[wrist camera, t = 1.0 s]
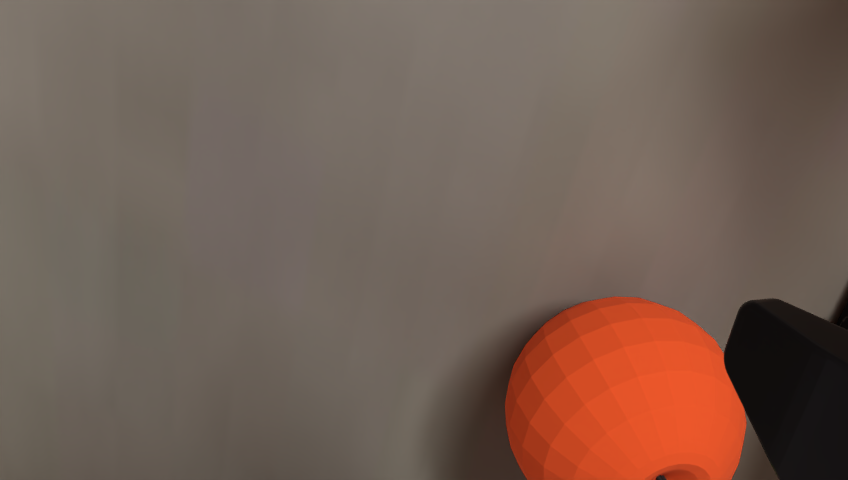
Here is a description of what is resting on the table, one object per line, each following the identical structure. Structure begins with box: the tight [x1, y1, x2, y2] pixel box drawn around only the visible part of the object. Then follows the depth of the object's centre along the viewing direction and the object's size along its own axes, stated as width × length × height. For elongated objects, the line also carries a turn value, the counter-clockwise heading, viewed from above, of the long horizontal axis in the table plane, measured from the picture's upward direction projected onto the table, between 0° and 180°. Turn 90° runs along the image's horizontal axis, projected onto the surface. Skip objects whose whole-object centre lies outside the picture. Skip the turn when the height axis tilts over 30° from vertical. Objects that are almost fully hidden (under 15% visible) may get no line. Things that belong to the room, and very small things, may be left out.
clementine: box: [505, 297, 746, 480], centre depth 24 cm, size 8×7×7 cm
